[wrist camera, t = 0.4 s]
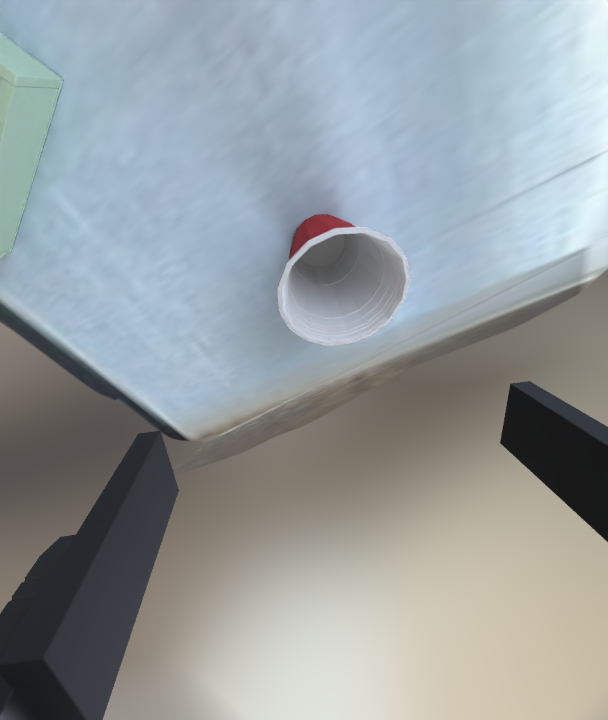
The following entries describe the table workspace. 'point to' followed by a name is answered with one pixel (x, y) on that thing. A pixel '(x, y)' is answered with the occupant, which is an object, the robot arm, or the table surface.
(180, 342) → the table surface
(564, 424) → the robot arm
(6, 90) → the bin
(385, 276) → the plastic cup
